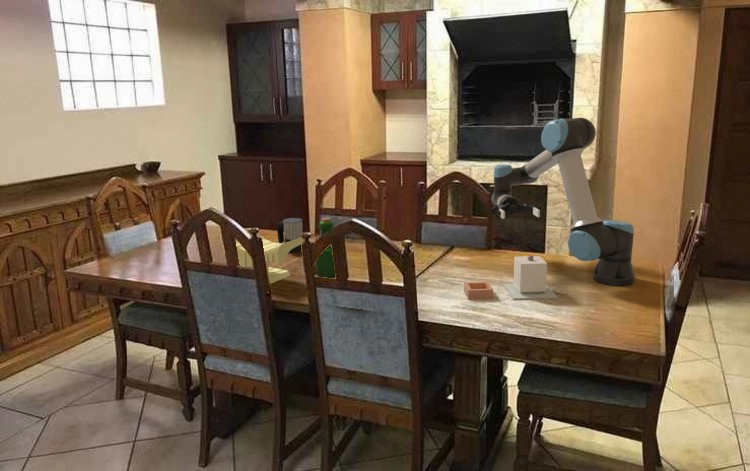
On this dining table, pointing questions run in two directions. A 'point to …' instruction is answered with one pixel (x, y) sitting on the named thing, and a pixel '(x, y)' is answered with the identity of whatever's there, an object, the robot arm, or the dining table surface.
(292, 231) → the milk frother
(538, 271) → the cover
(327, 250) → the bottle
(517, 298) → the mat
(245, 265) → the slatted curved stool
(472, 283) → the dish
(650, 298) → the dining table surface
